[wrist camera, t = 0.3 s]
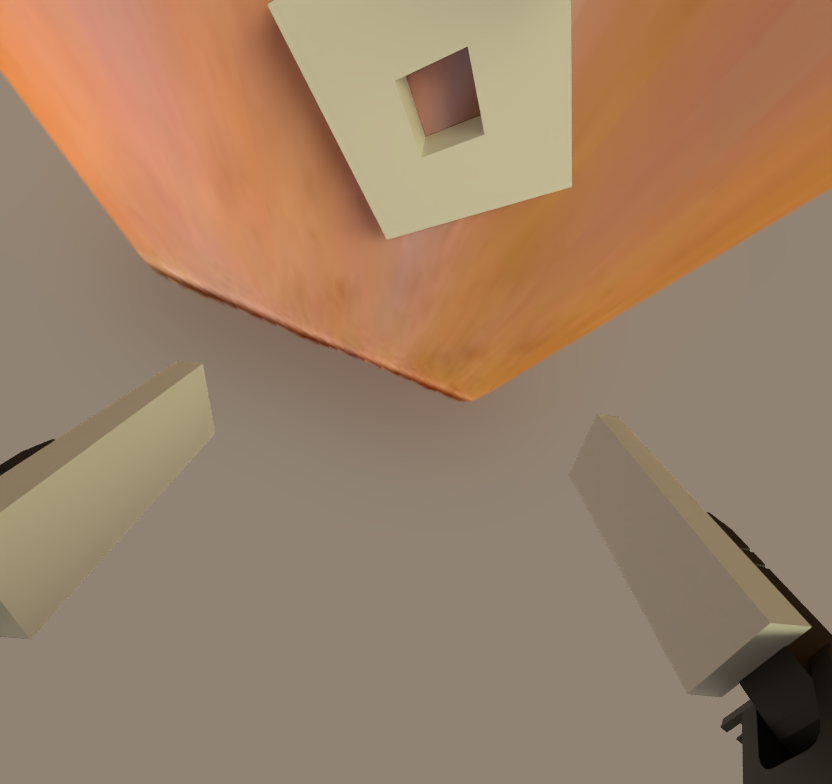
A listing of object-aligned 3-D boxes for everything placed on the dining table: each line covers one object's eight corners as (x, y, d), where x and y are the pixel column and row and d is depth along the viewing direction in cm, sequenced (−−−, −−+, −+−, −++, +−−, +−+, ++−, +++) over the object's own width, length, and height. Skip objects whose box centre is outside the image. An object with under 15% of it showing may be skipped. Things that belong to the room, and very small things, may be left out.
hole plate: (283, -11, 27) (267, 4, 25) (561, -198, 19) (569, -197, 17) (391, 218, 42) (386, 239, 40) (567, 164, 35) (571, 186, 33)
